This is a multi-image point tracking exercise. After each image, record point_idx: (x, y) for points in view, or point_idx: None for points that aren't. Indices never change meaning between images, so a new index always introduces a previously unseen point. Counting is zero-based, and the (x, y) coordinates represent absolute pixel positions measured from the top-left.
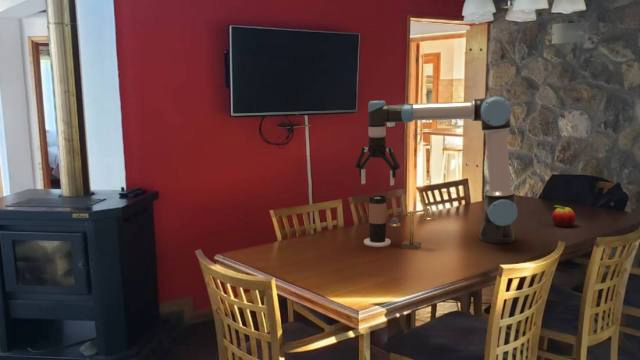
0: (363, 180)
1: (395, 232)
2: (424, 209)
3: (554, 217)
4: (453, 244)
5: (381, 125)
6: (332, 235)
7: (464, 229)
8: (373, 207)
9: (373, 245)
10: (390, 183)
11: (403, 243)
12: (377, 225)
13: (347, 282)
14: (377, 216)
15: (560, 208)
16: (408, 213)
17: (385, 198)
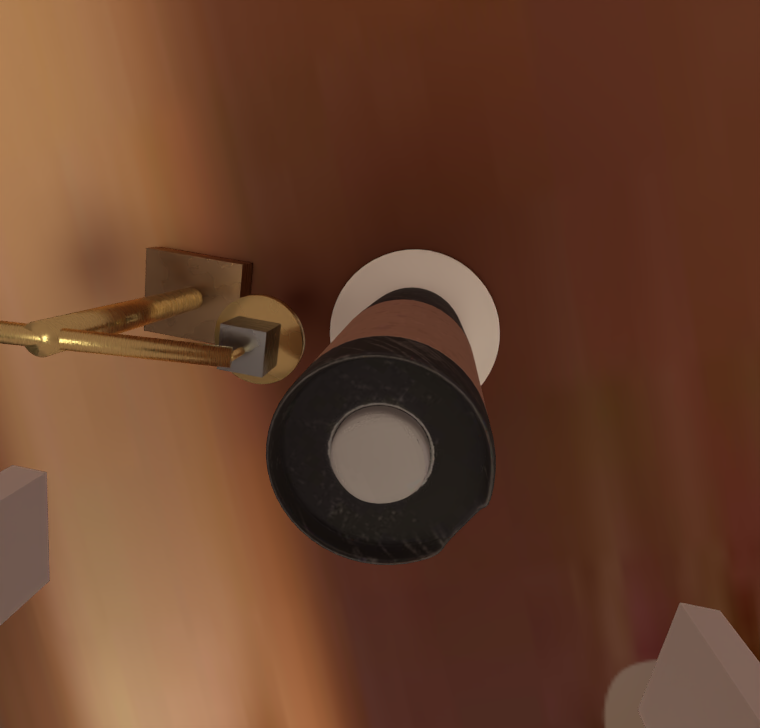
0: (715, 696)
1: (359, 579)
2: None
3: None
4: (20, 402)
5: None
6: (738, 456)
7: (50, 675)
8: (417, 329)
9: (420, 250)
10: (4, 493)
11: (232, 271)
12: (389, 299)
13: None
14: (381, 311)
15: None
16: (81, 330)
17: (268, 440)
